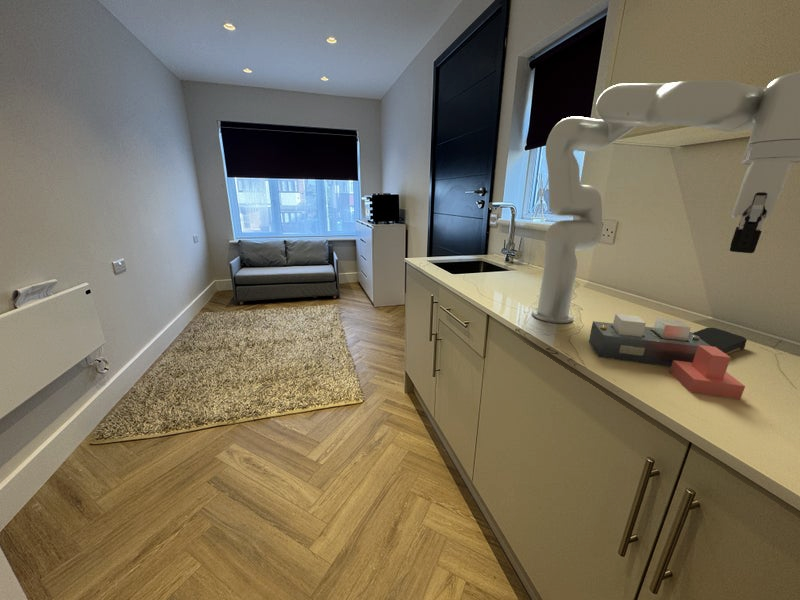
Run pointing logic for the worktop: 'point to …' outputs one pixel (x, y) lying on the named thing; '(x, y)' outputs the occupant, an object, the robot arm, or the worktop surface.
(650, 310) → the worktop surface
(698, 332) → the black sponge
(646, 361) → the panel
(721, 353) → the cap
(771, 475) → the worktop surface
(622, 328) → the button
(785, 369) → the worktop surface
